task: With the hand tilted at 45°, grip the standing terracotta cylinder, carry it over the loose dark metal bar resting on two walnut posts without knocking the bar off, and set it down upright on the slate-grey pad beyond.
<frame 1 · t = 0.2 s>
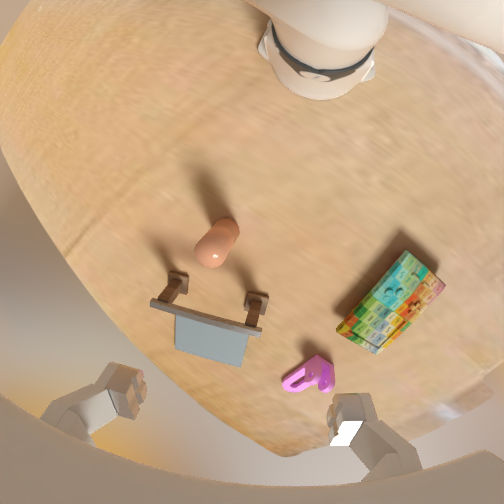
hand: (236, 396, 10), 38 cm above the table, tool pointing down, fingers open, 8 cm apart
bracket: (305, 373, 60), on the table
terracotta cylinder: (226, 230, 49), on the table
hurdle posts: (216, 292, 54), on the table
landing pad: (210, 339, 60), on the table
metal bar: (204, 316, 47), point 8 cm above the table, touching hurdle posts
puzzle game: (388, 298, 50), on the table
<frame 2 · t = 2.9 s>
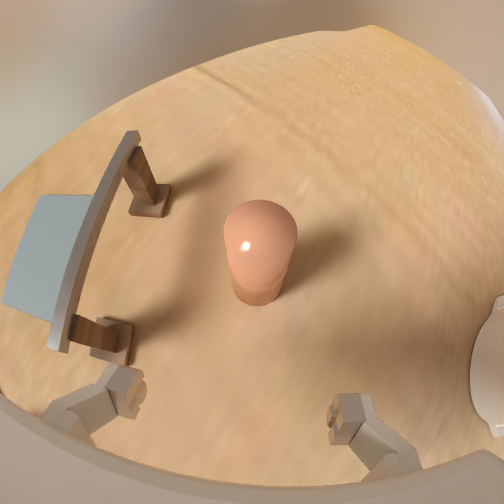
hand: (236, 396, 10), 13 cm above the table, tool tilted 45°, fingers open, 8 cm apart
terracotta cylinder: (256, 282, 26), on the table
hurdle posts: (130, 266, 27), on the table
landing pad: (46, 252, 28), on the table
metal bar: (95, 228, 20), point 8 cm above the table, touching hurdle posts
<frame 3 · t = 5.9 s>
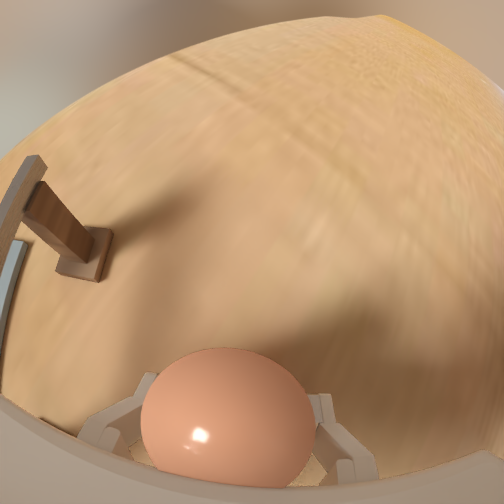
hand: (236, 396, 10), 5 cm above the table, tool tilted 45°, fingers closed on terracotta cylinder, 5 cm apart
terracotta cylinder: (239, 399, 15), on the table, touching gripper
hurdle posts: (61, 355, 16), on the table
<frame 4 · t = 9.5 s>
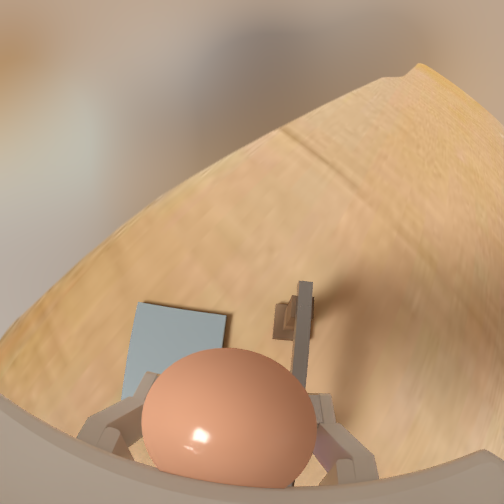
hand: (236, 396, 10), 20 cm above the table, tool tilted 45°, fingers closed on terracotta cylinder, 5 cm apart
terracotta cylinder: (239, 399, 15), point 15 cm above the table, touching gripper
hurdle posts: (284, 391, 28), on the table
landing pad: (170, 375, 29), on the table
metal bar: (294, 396, 21), point 8 cm above the table, touching hurdle posts
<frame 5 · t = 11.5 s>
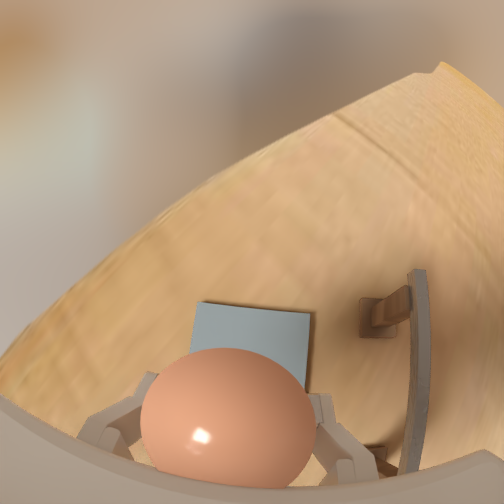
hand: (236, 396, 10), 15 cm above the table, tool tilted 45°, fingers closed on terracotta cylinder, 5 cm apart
terracotta cylinder: (239, 399, 15), point 10 cm above the table, touching gripper
hurdle posts: (373, 394, 24), on the table
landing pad: (244, 390, 24), on the table
metal bar: (414, 396, 16), point 8 cm above the table, touching hurdle posts
when the fingers open (8 cm above the table, at t = 13.2 s): terracotta cylinder drops 1 cm, resting on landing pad.
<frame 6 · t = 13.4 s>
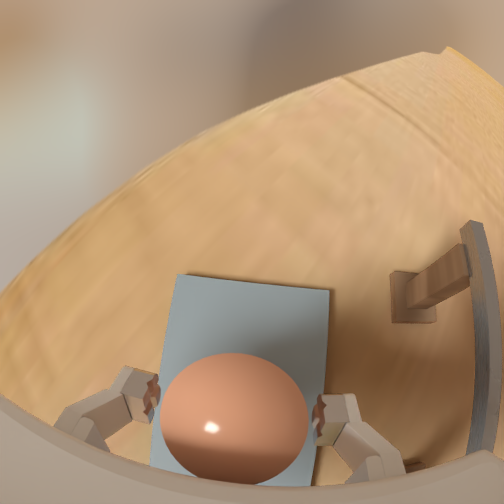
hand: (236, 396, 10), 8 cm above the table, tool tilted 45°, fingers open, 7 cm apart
terracotta cylinder: (240, 397, 16), point 1 cm above the table, touching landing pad
hurdle posts: (410, 397, 17), on the table
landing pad: (239, 396, 17), on the table
metal bar: (480, 396, 9), point 8 cm above the table, touching hurdle posts
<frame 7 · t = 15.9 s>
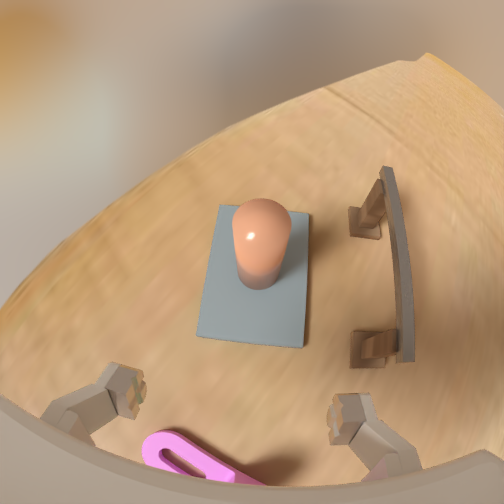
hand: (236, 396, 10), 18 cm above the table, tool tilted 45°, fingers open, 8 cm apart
bracket: (199, 471, 22), on the table
terracotta cylinder: (258, 269, 31), point 1 cm above the table, touching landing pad
hurdle posts: (367, 282, 31), on the table
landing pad: (257, 272, 32), on the table
metal bar: (397, 254, 24), point 8 cm above the table, touching hurdle posts
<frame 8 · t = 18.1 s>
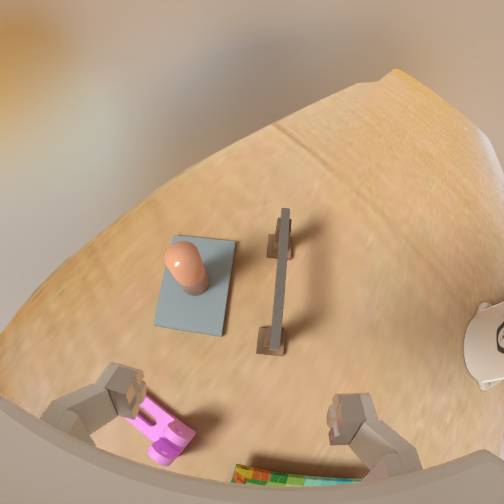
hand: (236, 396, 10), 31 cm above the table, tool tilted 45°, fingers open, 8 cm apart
bracket: (154, 419, 36), on the table
terracotta cylinder: (195, 282, 45), point 1 cm above the table, touching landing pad
hurdle posts: (275, 292, 45), on the table
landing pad: (195, 283, 45), on the table
metal bar: (280, 275, 38), point 8 cm above the table, touching hurdle posts
puzzle game: (290, 498, 30), on the table
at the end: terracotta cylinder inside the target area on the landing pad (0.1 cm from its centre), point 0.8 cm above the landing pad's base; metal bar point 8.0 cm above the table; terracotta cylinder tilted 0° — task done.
